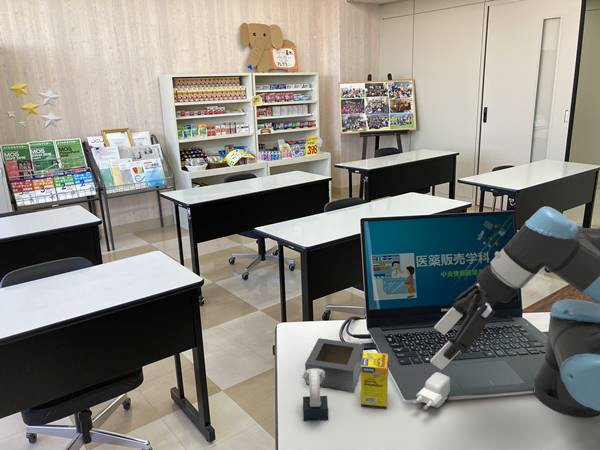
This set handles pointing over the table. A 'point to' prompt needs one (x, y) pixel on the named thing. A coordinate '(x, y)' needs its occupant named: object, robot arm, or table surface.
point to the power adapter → (434, 391)
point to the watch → (314, 397)
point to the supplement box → (374, 380)
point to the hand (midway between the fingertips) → (437, 347)
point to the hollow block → (337, 363)
